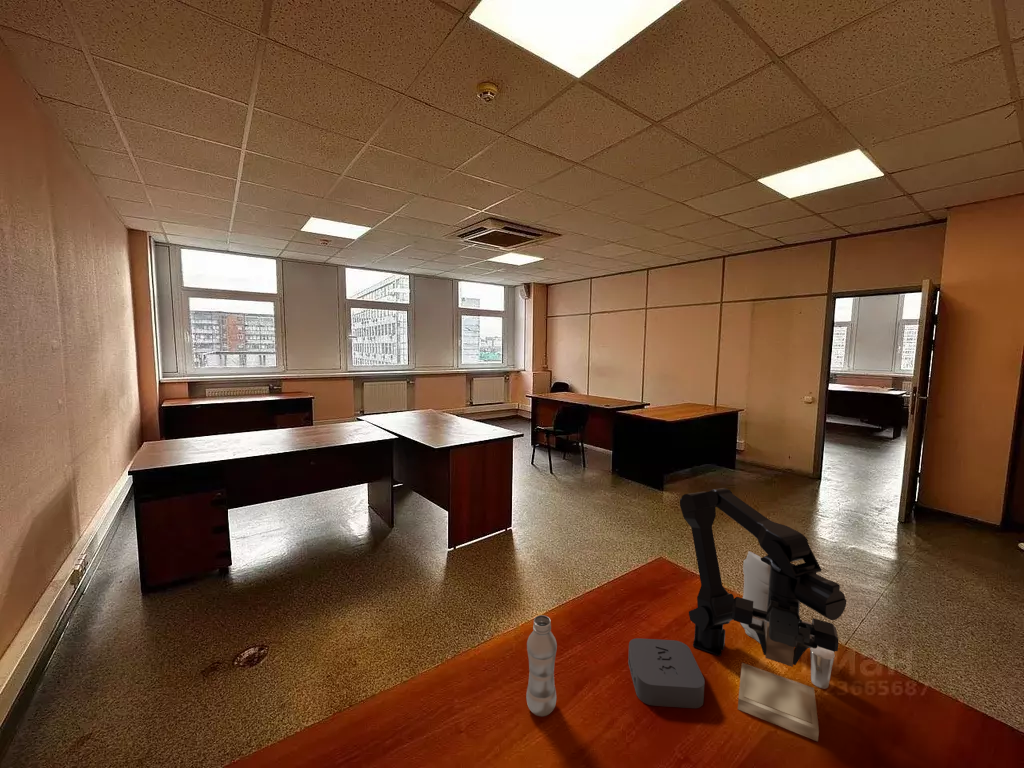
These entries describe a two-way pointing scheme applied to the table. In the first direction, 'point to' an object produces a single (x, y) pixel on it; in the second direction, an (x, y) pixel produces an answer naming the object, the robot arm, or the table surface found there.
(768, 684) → the base
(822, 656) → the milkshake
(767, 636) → the walnut block
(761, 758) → the table surface
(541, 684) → the plastic bottle
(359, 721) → the table surface
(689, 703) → the streaming box
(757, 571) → the grey ridged slab
